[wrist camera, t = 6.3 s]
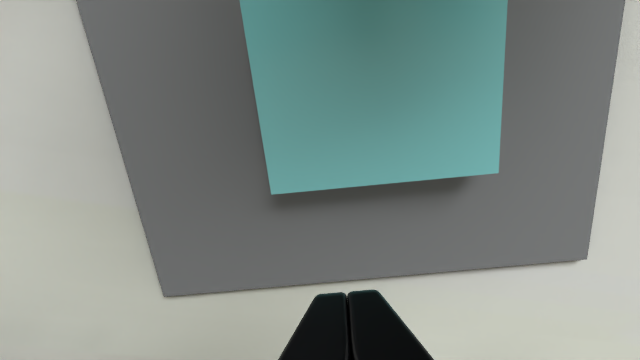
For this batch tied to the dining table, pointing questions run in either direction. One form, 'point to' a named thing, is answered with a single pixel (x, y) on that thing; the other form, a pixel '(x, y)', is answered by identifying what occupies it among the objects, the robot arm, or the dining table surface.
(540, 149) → the mat
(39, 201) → the dining table surface
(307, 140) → the tile
